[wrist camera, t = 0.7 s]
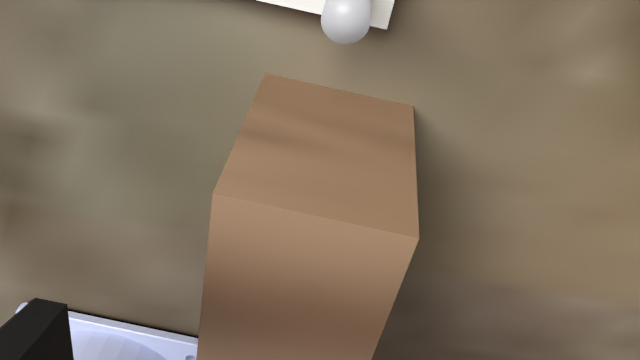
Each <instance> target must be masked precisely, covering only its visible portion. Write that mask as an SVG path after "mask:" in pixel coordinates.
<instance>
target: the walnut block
mask: <svg viewBox="0 0 640 360" xmlns="http://www.w3.org/2000/svg"><path fill="white" fill-rule="evenodd" d="M418 241H419V220H418V198H417V176H416V154H415V132H414V110H413V106H408V105H404V104H399V103H395V102H390V101H386V100H381V99H377V98H372V97H368V96H363V95H359V94H354V93H350V92H346V91H341V90H337V89H332V88H328V87H323V86H319V85H314V84H310V83H305V82H301V81H296V80H292V79H287V78H283V77H278V76H274V75H269V74H265V75H264V77H263V79H262V82H261V84H260V86H259V88H258V91H257V93H256V95H255V98H254V100H253V102H252V104H251V107H250V109H249V111H248V114H247V116H246V118H245V121H244V123H243V125H242V127H241V130H240V132H239V134H238V137H237V139H236V141H235V143H234V146H233V148H232V150H231V153H230V155H229V157H228V159H227V162H226V164H225V166H224V169H223V171H222V173H221V175H220V178H219V180H218V182H217V185H216V187H215V189H214V192H213V196H212V206H211V216H210V226H209V236H208V246H207V256H206V266H205V276H204V286H203V296H202V307H201V317H200V327H199V337H198V347H197V357H196V360H371V359H372V357H373V354H374V352H375V349H376V347H377V344H378V342H379V339H380V337H381V334H382V332H383V329H384V327H385V324H386V321H387V319H388V316H389V314H390V311H391V309H392V306H393V304H394V301H395V299H396V296H397V294H398V291H399V289H400V286H401V284H402V281H403V278H404V276H405V273H406V271H407V268H408V266H409V263H410V261H411V258H412V256H413V253H414V251H415V248H416V246H417V243H418Z"/></svg>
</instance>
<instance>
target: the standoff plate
mask: <svg viewBox="0 0 640 360" xmlns="http://www.w3.org/2000/svg"><path fill="white" fill-rule="evenodd" d="M258 1H262V2H267V3H271V4H276V5H280V6H284V7H289V8H293V9H298V10H302V11H307V12H311V13H315V14H320V15H321V25H322V28H323V31H324V32H325V34H326V35H327V36H328V37H329V38H330V39H331V40H332V41H334V42H336V43H339V44H353V43H355V42H358V41H359V40H361V39H362V38H363V37H364V36H365V35H366V33H367V32H368V30H369V27H370V26H373V27H377V28H382V29H386V30H387V27H388V23H389V19H390V16H391V12H392V8H393V5H394V1H395V0H258Z"/></svg>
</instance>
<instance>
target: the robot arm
mask: <svg viewBox="0 0 640 360" xmlns="http://www.w3.org/2000/svg"><path fill="white" fill-rule="evenodd" d="M197 347H198V338H194V337H190V336H185V335H180V334H176V333H171V332H166V331H161V330H157V329H152V328H147V327H143V326H138V325H133V324H128V323H124V322H119V321H114V320H110V319H105V318H100V317H95V316H91V315H86V314H81V313H77V312H72V311H68V308H67V304H63V303H58V302H53V301H48V300H43V299H38V298H35V299H33V300H31V301H30V302H29V303H22V304H21V305H20V306H19V308H18V309H17V310H16V314H15V315H14V316H13V317H12V318H11V319H10V320H8V321H7V322H6V323H5V324H4V325H3V326H2V327H0V360H196V357H197Z"/></svg>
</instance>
